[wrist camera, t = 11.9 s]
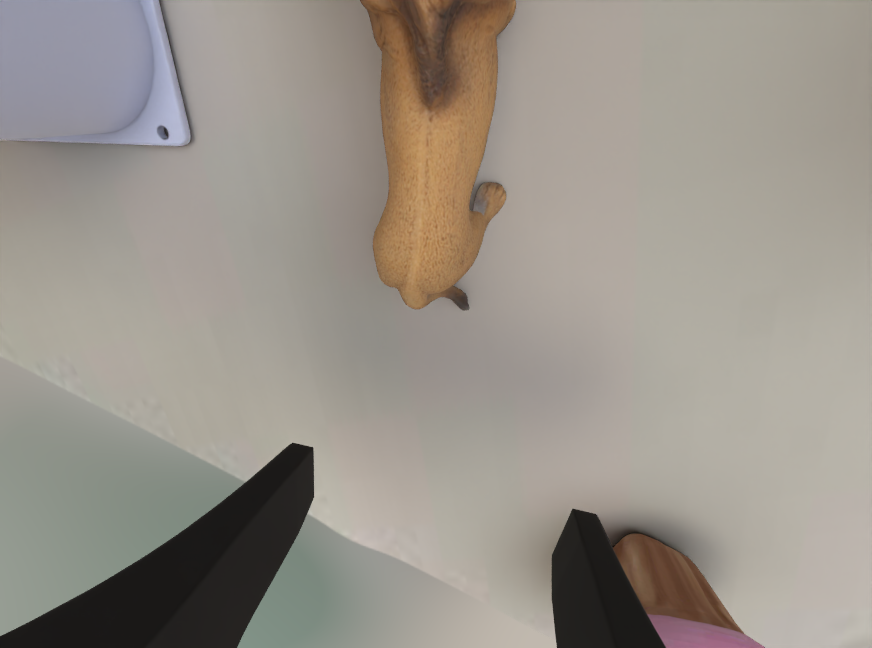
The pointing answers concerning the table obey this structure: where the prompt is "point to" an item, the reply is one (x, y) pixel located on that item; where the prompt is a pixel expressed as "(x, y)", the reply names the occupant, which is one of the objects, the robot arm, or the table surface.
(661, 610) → the cupcake
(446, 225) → the lion figurine
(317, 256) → the table surface
